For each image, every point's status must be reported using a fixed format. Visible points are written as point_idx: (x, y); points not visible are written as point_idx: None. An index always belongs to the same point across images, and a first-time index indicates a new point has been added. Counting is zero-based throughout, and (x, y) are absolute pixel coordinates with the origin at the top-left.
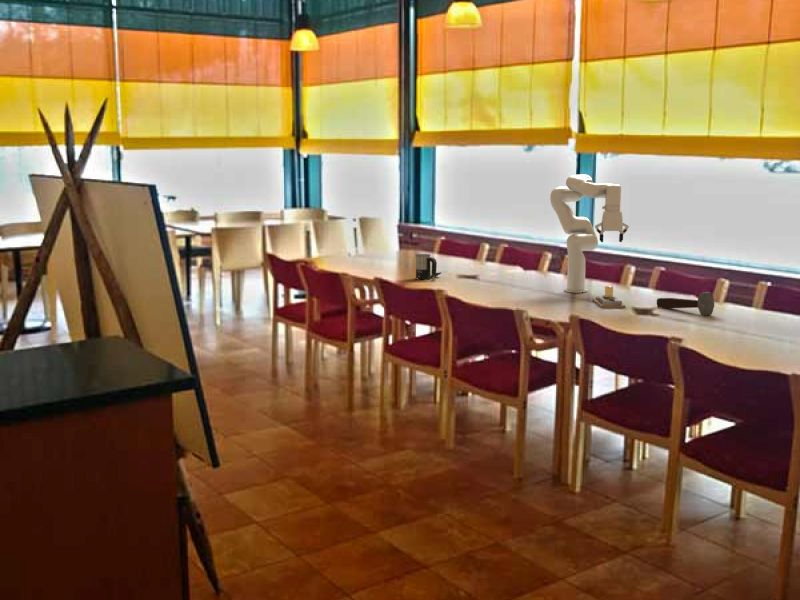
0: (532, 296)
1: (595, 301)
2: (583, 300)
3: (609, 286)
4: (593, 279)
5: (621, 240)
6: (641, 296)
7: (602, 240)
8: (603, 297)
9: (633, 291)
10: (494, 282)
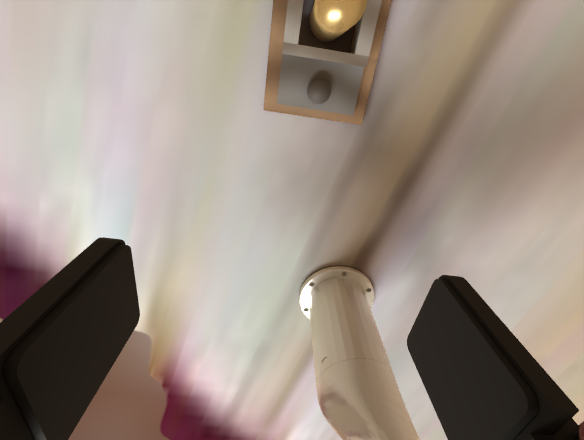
0: (524, 233)
1: (377, 55)
2: (393, 130)
3: (338, 6)
4: (219, 419)
5: (94, 253)
6: (133, 178)
7: (466, 292)
8: (344, 52)
9: (145, 268)
10: None
